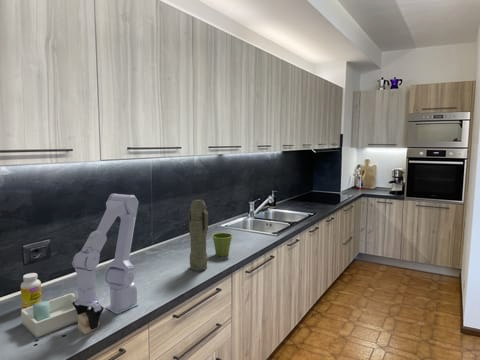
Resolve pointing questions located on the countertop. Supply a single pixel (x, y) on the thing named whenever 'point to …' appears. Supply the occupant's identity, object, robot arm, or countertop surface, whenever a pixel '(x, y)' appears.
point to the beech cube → (84, 323)
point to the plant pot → (222, 243)
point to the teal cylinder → (41, 310)
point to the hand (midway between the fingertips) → (88, 324)
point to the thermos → (198, 235)
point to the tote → (52, 316)
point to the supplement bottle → (30, 290)
